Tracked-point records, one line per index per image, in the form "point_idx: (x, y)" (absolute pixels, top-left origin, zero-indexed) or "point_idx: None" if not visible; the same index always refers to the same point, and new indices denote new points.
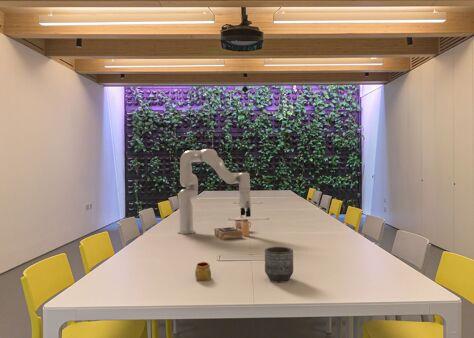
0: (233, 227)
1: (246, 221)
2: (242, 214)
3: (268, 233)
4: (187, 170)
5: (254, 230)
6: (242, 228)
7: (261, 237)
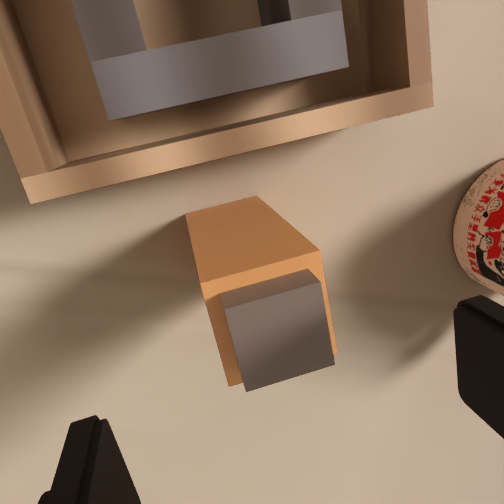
0: (382, 97)
1: (226, 345)
2: (465, 342)
3: (299, 471)
4: None
5: None
6: (232, 229)
7: (91, 402)
